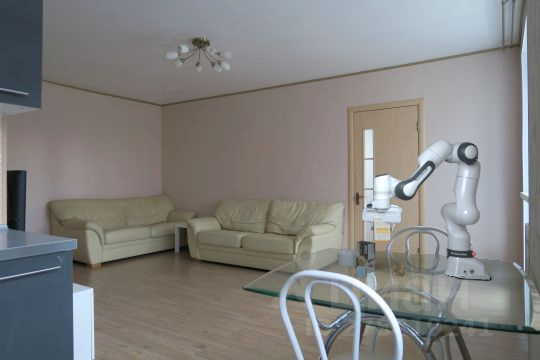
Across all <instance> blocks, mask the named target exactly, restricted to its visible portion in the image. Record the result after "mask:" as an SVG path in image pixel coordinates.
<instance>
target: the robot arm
mask: <svg viewBox="0 0 540 360" xmlns="http://www.w3.org/2000/svg"><path fill="white" fill-rule="evenodd" d="M444 162H446V163H449V164H457V167H458V169H457V174H456V177H455V181H454V185H453V186H454V187H453V192H454V195H455V202H454V201H451V202H447V203H444V204H442V206H441V208H440V216H441V217H442V219H443V220H444V224H445V227H446V232H447V247H446V251H445V252H446V265H445V268H444V271H443V274H444V275H446V276H448V275H449V277H451V276H456V277H459V276H471V275H486V274H487V273H488V272H487V268H486V266H485V264H484V263H482V262H481V261H480V260H479V259H477V258H476V256H477V253H476V252H475V251H474V250H472V249H471V234H470V233H469V231H468V229H467V226H473V225H475V224H477V223H478V222H479V220H480V219H481V212H480V210H479V208H478V205H477V191H478V187H479V181H480V177H481V166H482V165H481V163H480V161H479V149H478V147H477V145H476V144H475V143H472V142H469V141H465V142H463V141H462V142H454V143H450V142H449V141H448V140H446V139H442V138H441V139H438V140H436V141H435V142H433V143H432V144H430V145H429V146H428V147H426V149H424V150H423V151H422V152H421V153H420V155H418V156H417V165H418V169H417V170H416V171H415V172H414V173H413V174H412V175H411V176H410V178H408V179H406V180H399V179H397V178H395V177H393V176H391V174H389V173H382V174H377V175H375V176H374V179H373V183H372V184H373V187H372V192H373V197H372V201H369V202H366V203H365V204H364V208H363V210H362V213H361V221H363V222H366V223H367V225H368V226H369V230H370V231H373V225H372V223H373V222H374V217H382V220H383V222H385V223H390V224H391V225H392V227H390V232H394V228H395V226H396V224H401V223H402V222H403V217H402V213H403V207H402V206H400V205H398V204H396V205H395V204H391V198H394V199H397V200H402V201H411V200H412V199H414V197H415V196H416V195H417V192H418V190H419V188H420V187H421V186H422V185H423V184H424V183H425V181H426V180H428V178H429V177H430V176H431V175H432V174H433V172H435V170H436V169H438V168H439V166H441V164H443V163H444Z"/></svg>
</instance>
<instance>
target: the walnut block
mask: <svg viewBox="0 0 540 360" xmlns="http://www.w3.org/2000/svg"><path fill="white" fill-rule="evenodd" d="M392 267H393V269H392V271H393V272H392V273H393V275H392V276H393V277H394V276H395V277H401V278H403V277H404V273H405V267H404V265H403V264H402V265H401V264H393V266H392Z"/></svg>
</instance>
